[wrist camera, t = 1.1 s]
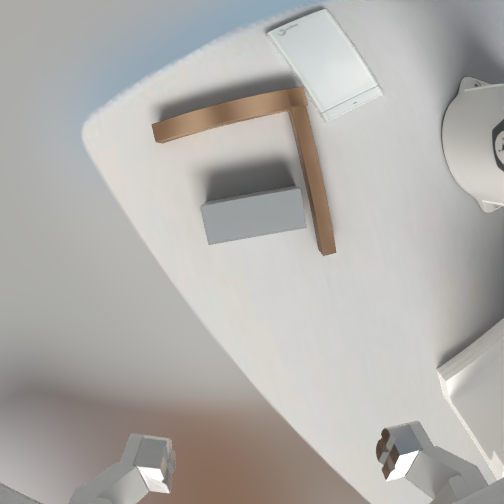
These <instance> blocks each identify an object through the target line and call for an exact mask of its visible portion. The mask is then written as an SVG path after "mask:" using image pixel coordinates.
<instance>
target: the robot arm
mask: <svg viewBox="0 0 504 504" xmlns="http://www.w3.org/2000/svg"><path fill="white" fill-rule="evenodd" d="M475 87H476V88H475ZM442 141H443V149H444V154H445V158H446V161H447V164H448V167H449V169H450V171H451V173H452V175H453V177H454V178H455V180H456V181H457V183H458V184H459V185H460V186H461V187H462V188H463V189H464V190H465V191H466V192H468V193H469V194H471V195H472V196H473V197H474V198H475V199H476V200H477V202H478V204H479V206H480V207H481V209H482V210H483V211H484V212H487V213H492V212H494V211H495V210H497V209H499V208H501V207H502V206H504V83H501V84H494V85H492V84H490V83H487V82H484V81H481V80H478V79H475V78H472V77H464V78H463V79H462V80H461V83H460V88H459V93H458V95H457V96H456V98H455V99H454V100H453V101H452V102H451V104H450V105H449V107H448V109H447V111H446V114H445V117H444V121H443V128H442ZM381 436H382V438H381V439H380V440H379V441H378V443H377V446H376V455H377V459H378V461H379V462H380V463H382V464H383V467H382V472H383V474H384V477H385V479H386V481H389V480H393V479H397V478H401V477H404V478H406V479H407V480H408V481H410V482H411V483H412V484H414V485H415V486H416V487H418V488H419V489H420V490H422V491H423V492H424V493H426V494H427V495H428V496H430V497H431V498H432V499H433V500H432V501H431V502H430V503H429V504H504V477H503V478H501V479H499V480H497V481H496V482H494V483H492V484H490V485H488V484H487V482H486V480H485V479H484V477H483V475H482V474H481V472H480V470H479V469H478V467H477V466H476V465H474V464H472V463H470V462H468V461H466V460H464V459H462V458H460V457H458V456H456V455H454V454H452V453H450V452H448V451H446V450H444V449H442V448H440V447H438V446H435V447H434V446H433V444H432V442H431V441H430V439H429V437H428V435H427V434H426V432H425V430H424V429H423V427H422V425H421V424H420V422H419V421H414V422H410V423H405V424H401V425H397V426H392V427H388V428H384V429H383V431H382V433H381ZM171 447H172V442H171V439H169V438H161V437H154V436H148V435H142V434H135V433H132V434H131V435H130V437H129V439H128V442H127V445H126V447H125V450H124V452H123V455H122V458H121V460H120V463H115V464H113V465H112V466H110V467H109V468H107V469H106V470H104V471H103V472H101V473H100V474H98V475H96V476H95V477H93V478H92V479H90V480H89V481H87V482H85V483H84V484H82V485H81V486H79V487H77V488H76V489H75V490H74V492H73V495H72V497H71V499H70V502H69V504H136V503H137V502H138V501H139V500H141V499H142V498H143V497H144V496H145V495H146V494H147V493H148V492H149V491H156V492H164V493H170V490H171V486H172V478H171V474H172V473H173V472H174V470H175V465H176V457H175V452H174V450H173V449H171ZM148 490H149V491H148ZM0 504H43V503H40V502H38V501H36V500H34V499H32V498H30V497H27V496H25V495H23V494H21V493H19V492H17V491H15V490H13V489H11V488H9V487H8V486H6V485H4V484H2V483H1V482H0Z"/></svg>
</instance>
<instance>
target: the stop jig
mask: <svg viewBox="0 0 504 504" xmlns="http://www.w3.org/2000/svg"><path fill="white" fill-rule="evenodd" d="M306 105H307V100H306V96H305V93H304V89H303V86H302V87H296V88H290V89H285V90H279V91H274V92H269V93H264V94H259V95H255V96H250V97H246V98H241V99H237V100H233V101H229V102H225V103H221V104H217V105H214V106H210V107H206V108H203V109H199V110H196V111H192V112H189V113H185V114H182V115H179V116H176V117H173V118H170V119H166V120H163V121H160V122H157V123H155V124H152V128H153V133H154V137H155V141H156V142H158V143H165V142H168V141H171V140H175V139H178V138H181V137H184V136H188V135H191V134H195V133H198V132H202V131H205V130H209V129H213V128H216V127H220V126H224V125H228V124H232V123H236V122H240V121H244V120H249V119H253V118H257V117H262V116H267V115H271V114H276V113H281V112H286V111H288V112H289V116H290V120H291V123H292V127H293V132H294V136H295V140H296V144H297V148H298V152H299V157H300V161H301V165H302V170H303V174H304V179H305V183H306V188H307V193H308V197H309V202H310V207H311V212H312V217H313V222H314V227H315V232H316V238H317V243H318V249H319V251H320V252H321V253H322V255H323V256H325V255H329V254H333V253H336V247H335V241H334V235H333V230H332V224H331V218H330V213H329V208H328V202H327V197H326V192H325V187H324V182H323V178H322V173H321V168H320V164H319V159H318V155H317V150H316V146H315V142H314V137H313V133H312V129H311V125H310V121H309V117H308V113H307V109H306Z"/></svg>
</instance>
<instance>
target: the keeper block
mask: <svg viewBox="0 0 504 504" xmlns="http://www.w3.org/2000/svg"><path fill="white" fill-rule="evenodd" d="M200 207H201V212H202V217H203V221H204V226H205V231H206V235H207V240H208V244H209V245H212V244H217V243H223V242H228V241H234V240H239V239H245V238H251V237H256V236H262V235H268V234H273V233H279V232H285V231H291V230H297V229H302V228H307V227H306V220H305V214H304V207H303V201H302V194H301V188H299V187H297V186H290V187H284V188H278V189H272V190H267V191H261V192H255V193H250V194H244V195H239V196H233V197H228V198H223V199H218V200H213V201H208V202H205V203H204V204H203V205H202V206H200Z"/></svg>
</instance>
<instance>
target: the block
mask: <svg viewBox="0 0 504 504" xmlns="http://www.w3.org/2000/svg"><path fill="white" fill-rule="evenodd" d="M437 373H438V377H439V381H440V385H441V389H442V393H443V396H444V397H445V399H446V400H447V402H448V403H449V405H450V406H451V408H452V409H453V411H454V412H455V414H456V415H457V417H458V418H459V420H460V421H461V423H462V424H463V426H464V427H465V429H466V430H467V432H468V433H469V435H470V437H471V438H472V440H473V441H474V443H475V444H476V446H477V448H478V449H479V451H480V452H481V454H482V456H483V457H484V459H485V461H486V462H487V464H488V466H489V467H490V469H491V471H492V472H493V474H494V476H495V478H496V479H497V480H499V479H501V478H503V477H504V318H503V319H501V320H500V321H499V322H498V323H497V324H496V325H494V326H493V327H492V328H491V329H490V330H488V331H487V332H486V333H485V334H483V335H482V336H481V337H480V338H478V339H477V340H476V341H475V342H473V343H472V344H471V345H469V346H468V347H467V348H465V349H464V350H463V351H461V352H460V353H459V354H457V355H456V356H455V357H453V358H452V359H450V360H449V361H448V362H446V363H445V364H443V365H442V366H440V367H439V368H437Z"/></svg>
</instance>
